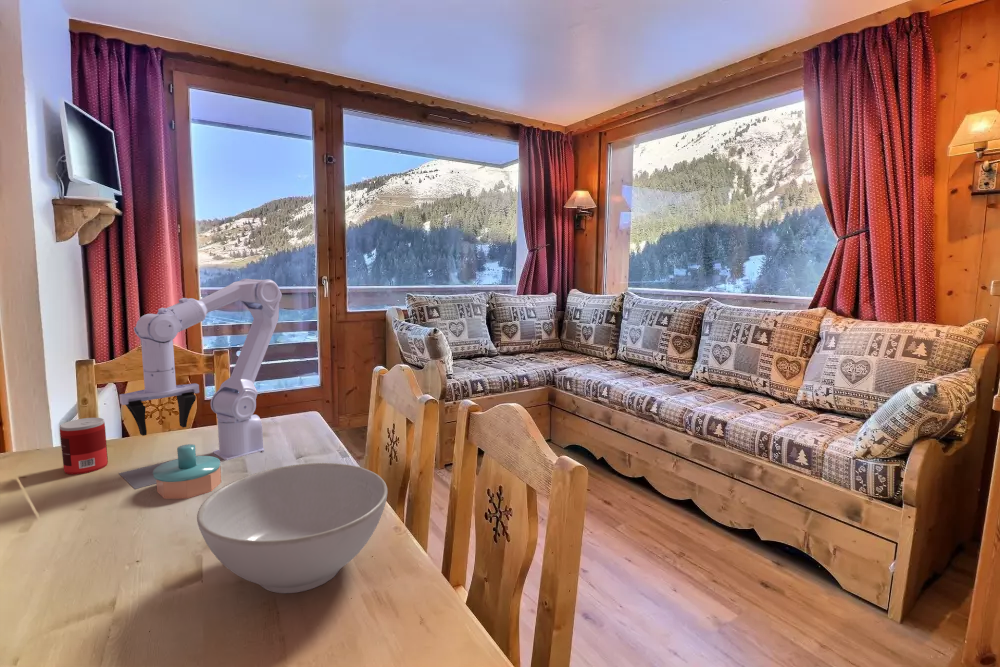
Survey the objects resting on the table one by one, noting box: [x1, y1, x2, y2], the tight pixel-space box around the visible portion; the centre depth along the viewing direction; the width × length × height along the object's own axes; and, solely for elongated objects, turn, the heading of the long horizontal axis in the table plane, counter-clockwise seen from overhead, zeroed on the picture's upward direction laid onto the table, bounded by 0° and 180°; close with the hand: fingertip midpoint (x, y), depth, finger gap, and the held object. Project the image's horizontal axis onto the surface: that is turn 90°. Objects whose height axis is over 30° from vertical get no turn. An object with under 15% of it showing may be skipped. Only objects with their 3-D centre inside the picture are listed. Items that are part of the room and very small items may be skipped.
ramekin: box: [156, 465, 222, 500], centre depth 109 cm, size 11×11×4 cm
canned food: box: [59, 417, 109, 476], centre depth 117 cm, size 8×8×11 cm
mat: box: [118, 460, 172, 490], centre depth 116 cm, size 12×12×1 cm
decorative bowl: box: [196, 462, 388, 594], centre depth 80 cm, size 27×27×12 cm
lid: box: [153, 443, 221, 482], centre depth 108 cm, size 12×12×5 cm
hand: (163, 430), depth 114 cm, fingers open, 7 cm apart
